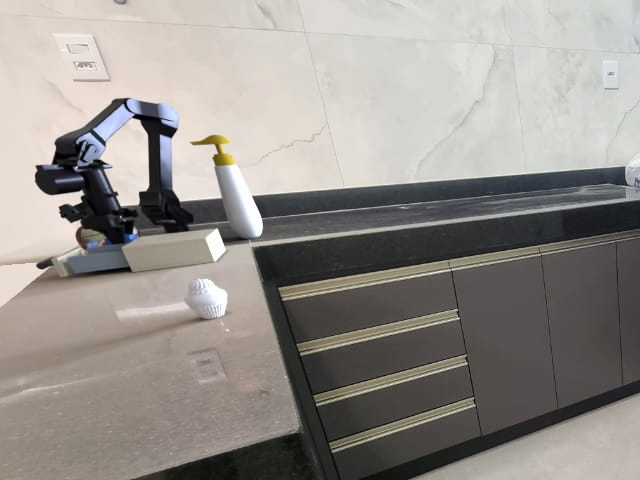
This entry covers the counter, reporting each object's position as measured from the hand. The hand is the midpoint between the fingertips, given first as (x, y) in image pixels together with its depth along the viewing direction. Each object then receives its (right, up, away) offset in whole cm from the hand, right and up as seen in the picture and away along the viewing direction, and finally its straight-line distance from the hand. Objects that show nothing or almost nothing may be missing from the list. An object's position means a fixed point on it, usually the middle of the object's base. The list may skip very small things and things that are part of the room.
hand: (125, 250), depth 140 cm
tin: (-15, +3, +13) cm, 20 cm away
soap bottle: (+17, +8, +21) cm, 28 cm away
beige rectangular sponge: (+18, -3, -3) cm, 19 cm away
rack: (+4, -6, -10) cm, 12 cm away
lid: (0, -1, 0) cm, 1 cm away
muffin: (+60, -21, -45) cm, 78 cm away
